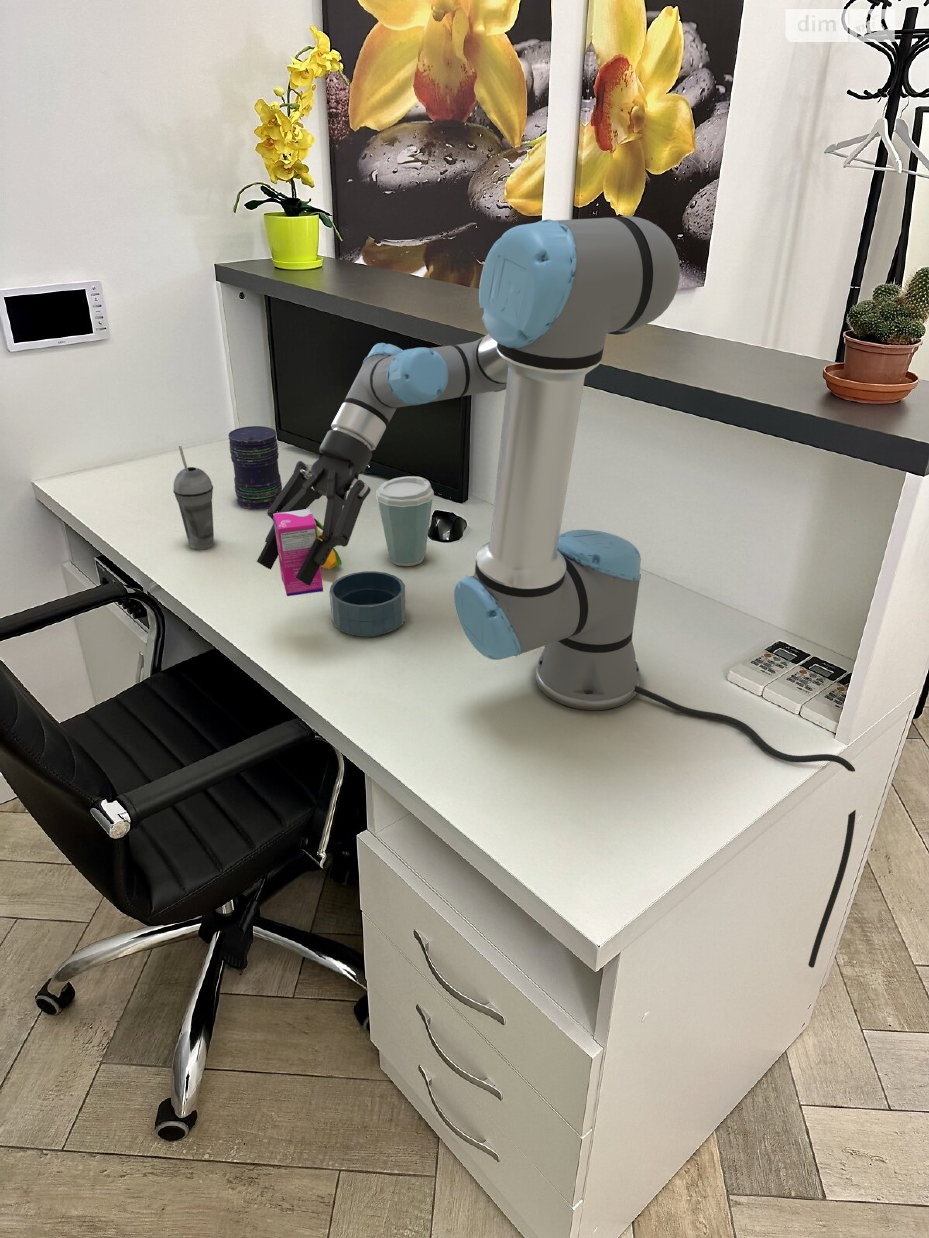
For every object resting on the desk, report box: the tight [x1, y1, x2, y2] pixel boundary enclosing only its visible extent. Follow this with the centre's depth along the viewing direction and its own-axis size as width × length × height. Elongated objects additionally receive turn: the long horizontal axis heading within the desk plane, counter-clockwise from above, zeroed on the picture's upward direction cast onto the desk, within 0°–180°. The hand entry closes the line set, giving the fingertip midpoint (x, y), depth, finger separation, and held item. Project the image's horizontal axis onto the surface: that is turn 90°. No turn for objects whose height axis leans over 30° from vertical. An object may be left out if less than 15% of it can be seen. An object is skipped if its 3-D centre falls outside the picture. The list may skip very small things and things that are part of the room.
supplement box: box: [273, 508, 324, 597], centre depth 134 cm, size 6×6×12 cm
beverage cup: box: [172, 445, 215, 551], centre depth 167 cm, size 7×7×20 cm
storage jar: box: [228, 425, 283, 511], centre depth 188 cm, size 10×10×15 cm
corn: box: [314, 517, 343, 570], centre depth 165 cm, size 7×8×20 cm
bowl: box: [328, 570, 407, 637], centre depth 146 cm, size 12×12×6 cm
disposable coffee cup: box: [375, 475, 435, 567], centre depth 164 cm, size 11×11×15 cm
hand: (283, 573), depth 132 cm, fingers closed on supplement box, 8 cm apart
